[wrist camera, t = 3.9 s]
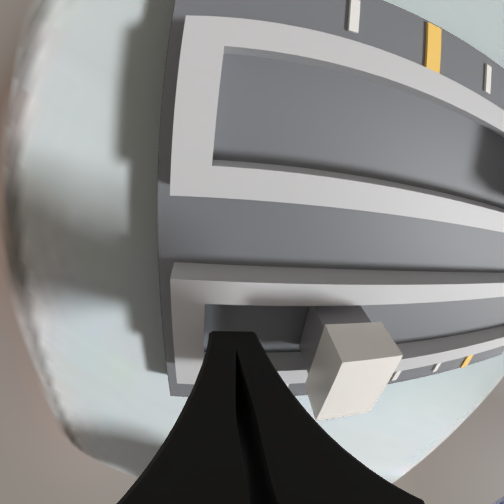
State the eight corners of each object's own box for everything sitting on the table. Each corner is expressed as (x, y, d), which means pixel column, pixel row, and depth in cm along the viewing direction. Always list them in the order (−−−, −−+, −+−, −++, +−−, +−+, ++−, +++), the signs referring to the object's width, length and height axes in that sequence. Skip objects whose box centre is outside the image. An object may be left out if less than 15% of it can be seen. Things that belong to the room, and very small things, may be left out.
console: (492, 344, 16) (508, 362, 14) (172, 376, 13) (168, 413, 11) (564, 134, 9) (588, 143, 7) (186, -21, 6) (179, -51, 4)
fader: (340, 349, 12) (369, 411, 9) (294, 351, 11) (315, 420, 8) (361, 293, 10) (403, 355, 8) (309, 292, 10) (342, 362, 7)
